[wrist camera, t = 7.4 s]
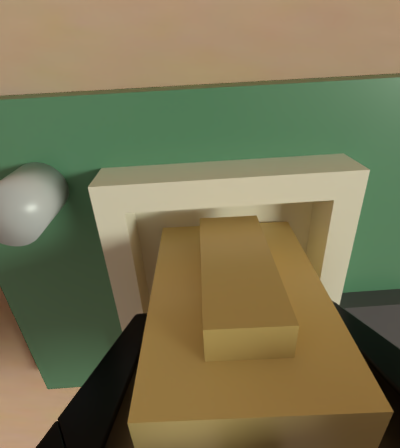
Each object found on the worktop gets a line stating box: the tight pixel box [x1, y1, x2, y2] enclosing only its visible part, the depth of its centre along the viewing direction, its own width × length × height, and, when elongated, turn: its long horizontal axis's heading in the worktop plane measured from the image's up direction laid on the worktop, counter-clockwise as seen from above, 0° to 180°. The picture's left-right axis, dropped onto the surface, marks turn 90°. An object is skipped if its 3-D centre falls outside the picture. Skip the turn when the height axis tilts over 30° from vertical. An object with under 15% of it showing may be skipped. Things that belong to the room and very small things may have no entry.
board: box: [0, 73, 400, 389], centre depth 11 cm, size 12×16×3 cm
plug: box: [127, 216, 394, 448], centre depth 8 cm, size 5×4×7 cm
